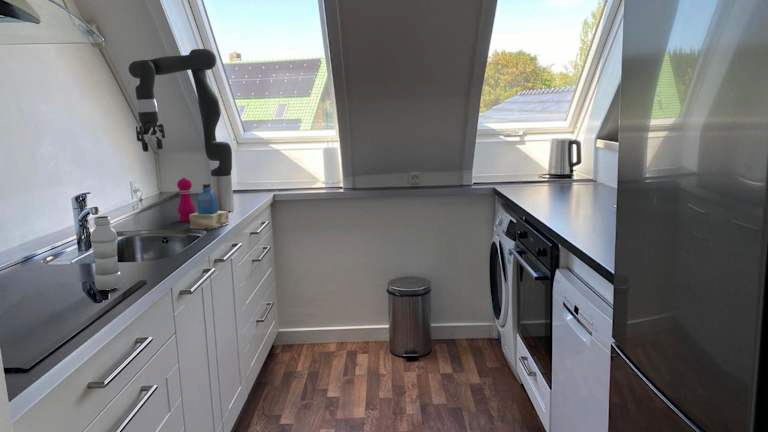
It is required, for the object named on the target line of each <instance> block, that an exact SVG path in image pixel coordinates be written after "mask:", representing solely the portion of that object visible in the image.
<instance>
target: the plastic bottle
mask: <svg viewBox="0 0 768 432" xmlns="http://www.w3.org/2000/svg"><path fill="white" fill-rule="evenodd" d="M93 224H94V226H95V227H94V229H93V230H92V232H91V234H90V238H89V240H90V243H91V248H92V251H93V257H94V262H95V263H94V266H95V267H94V270H95V272H94V286H95V288H96V289H97V290H98V291H100V290H107V289H112V288H115V287H118V286H120V285H121V286H122V282H123V279H122V274H121V271H120V267H119V262H118V240H119V238H118V233H117V231H116V230H115V229H114V228H113V227H112V226H111V219H110V216H109V215H103V216H95V217H93ZM121 286H120V287H121Z"/></svg>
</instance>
